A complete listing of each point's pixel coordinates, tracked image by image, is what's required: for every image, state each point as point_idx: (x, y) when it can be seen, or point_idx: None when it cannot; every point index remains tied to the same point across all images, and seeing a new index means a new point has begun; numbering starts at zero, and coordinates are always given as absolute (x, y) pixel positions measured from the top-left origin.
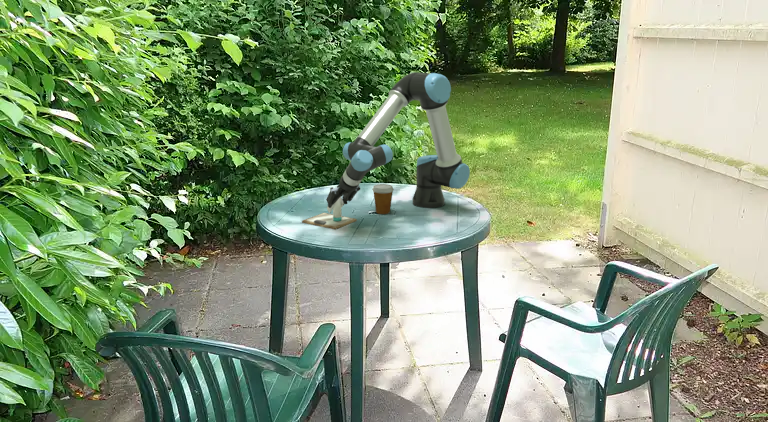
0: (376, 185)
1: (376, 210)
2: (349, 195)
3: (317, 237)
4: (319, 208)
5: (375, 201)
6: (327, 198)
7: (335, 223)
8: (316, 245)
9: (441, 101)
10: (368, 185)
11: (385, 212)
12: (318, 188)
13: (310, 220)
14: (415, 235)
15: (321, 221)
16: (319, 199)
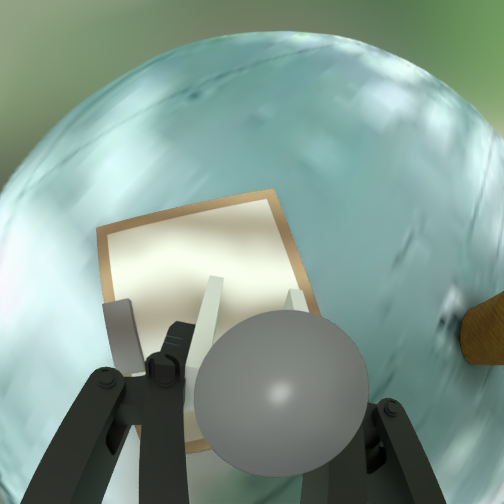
0: None
1: (467, 330)
2: (381, 471)
3: (33, 459)
4: (304, 125)
5: (495, 322)
6: (75, 414)
7: (189, 410)
8: (8, 500)
9: None
10: (475, 114)
11: (476, 364)
12: (378, 48)
13: (119, 258)
14: None
15: (123, 348)
16: (350, 78)
